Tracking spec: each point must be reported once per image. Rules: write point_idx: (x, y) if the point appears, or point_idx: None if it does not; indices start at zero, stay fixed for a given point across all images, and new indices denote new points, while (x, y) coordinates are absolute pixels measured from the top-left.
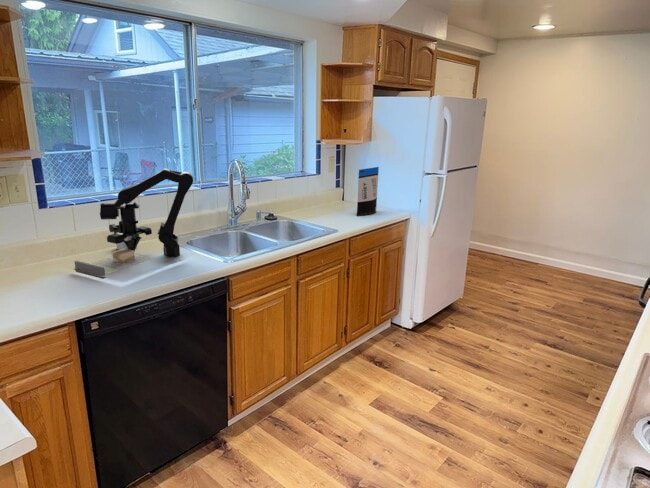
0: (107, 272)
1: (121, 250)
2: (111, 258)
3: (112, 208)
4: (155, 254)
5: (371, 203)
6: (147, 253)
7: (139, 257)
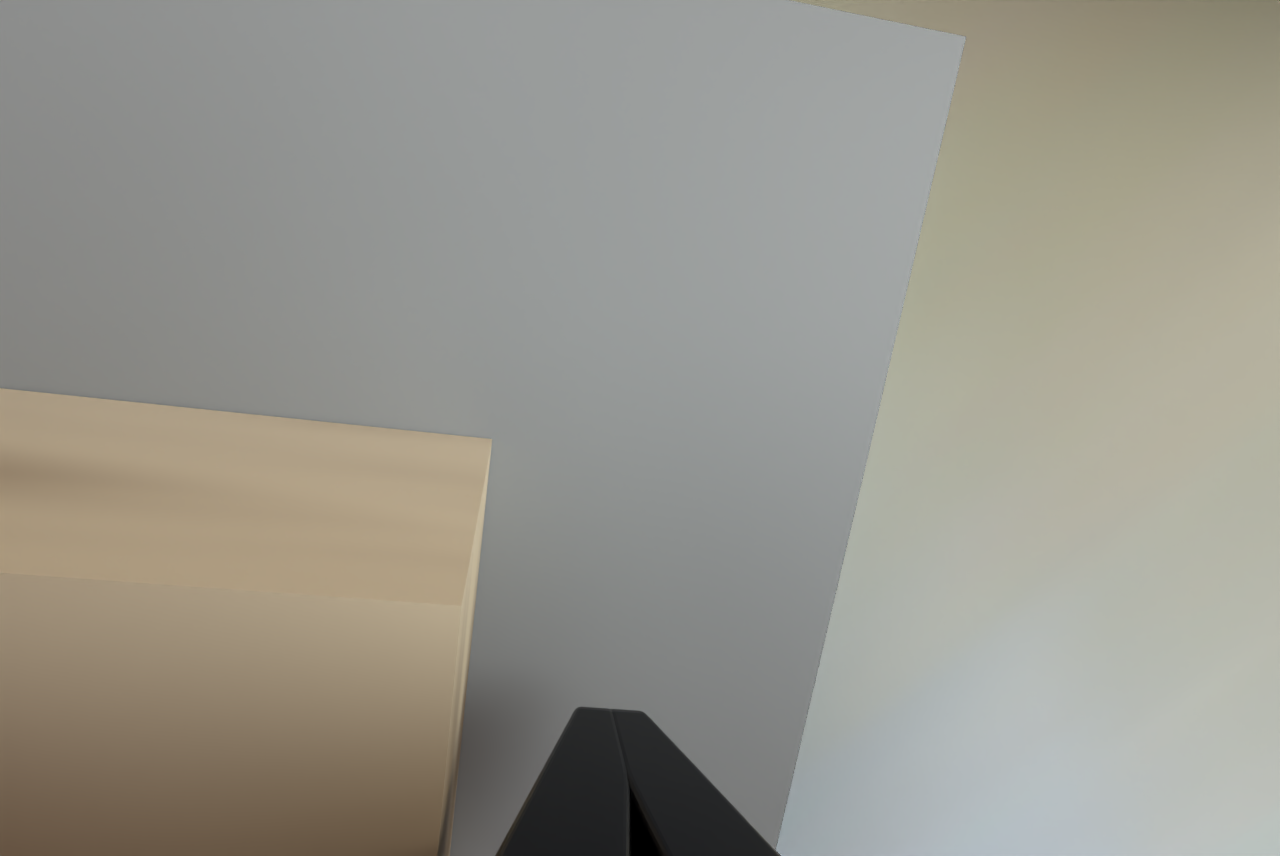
0: None
1: (54, 783)
2: (120, 49)
3: None
4: (1224, 740)
5: None
6: (1272, 507)
7: None
